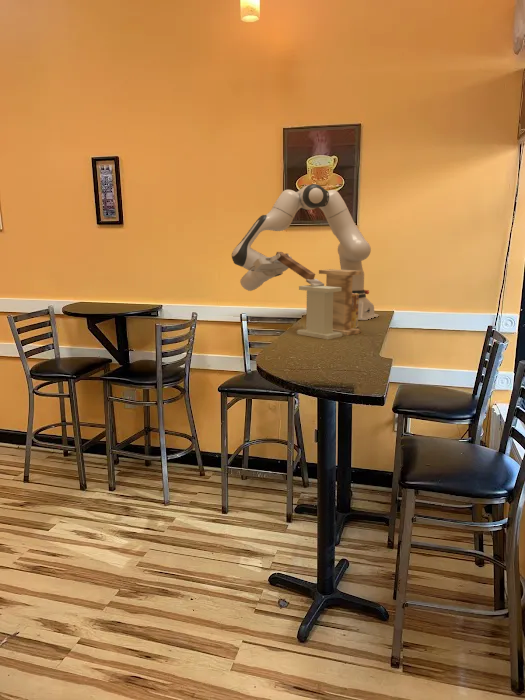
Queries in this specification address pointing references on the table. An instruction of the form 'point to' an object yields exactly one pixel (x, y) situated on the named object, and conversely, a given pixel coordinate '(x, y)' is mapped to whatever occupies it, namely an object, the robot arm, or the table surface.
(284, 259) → the scraper
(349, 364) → the table surface
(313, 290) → the short pedestal
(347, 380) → the table surface
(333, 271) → the tall pedestal
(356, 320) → the candy box
